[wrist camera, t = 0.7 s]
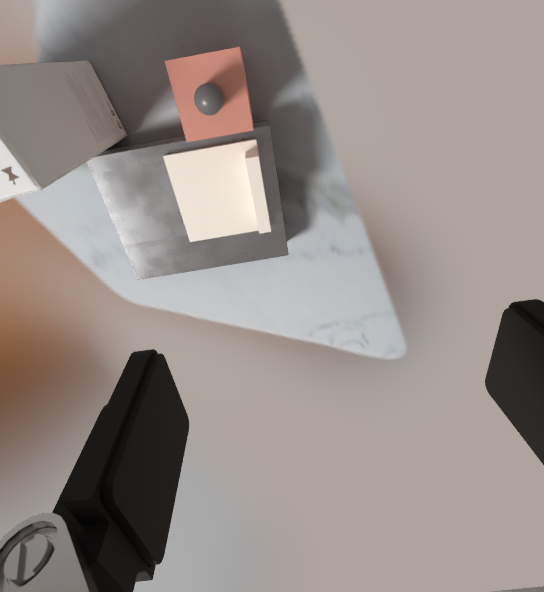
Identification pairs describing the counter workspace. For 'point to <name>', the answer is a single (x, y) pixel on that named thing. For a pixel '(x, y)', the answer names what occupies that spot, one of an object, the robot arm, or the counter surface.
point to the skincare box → (51, 123)
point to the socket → (165, 211)
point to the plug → (211, 94)
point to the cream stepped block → (219, 190)
